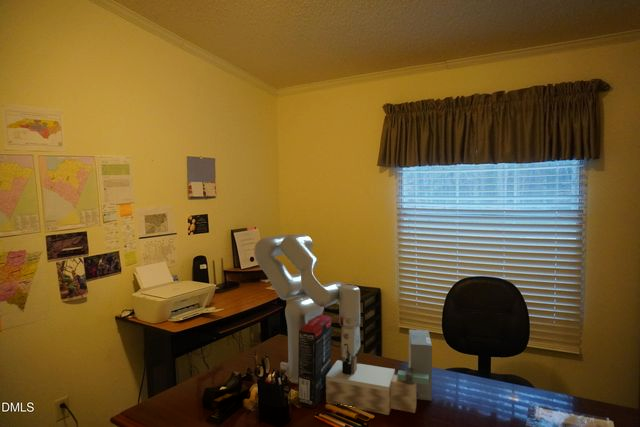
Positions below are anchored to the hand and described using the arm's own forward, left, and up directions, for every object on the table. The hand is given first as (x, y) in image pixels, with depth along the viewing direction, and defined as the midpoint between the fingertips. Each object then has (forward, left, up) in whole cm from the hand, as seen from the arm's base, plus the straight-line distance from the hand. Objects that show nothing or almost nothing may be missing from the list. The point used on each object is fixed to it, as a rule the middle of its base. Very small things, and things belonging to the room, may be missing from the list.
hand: (350, 368), depth 131 cm
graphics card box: (-12, -3, -11) cm, 16 cm away
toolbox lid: (+4, 0, -2) cm, 5 cm away
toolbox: (+8, 0, -10) cm, 13 cm away
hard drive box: (+23, +14, -11) cm, 29 cm away
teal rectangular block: (+22, 0, -1) cm, 22 cm away
